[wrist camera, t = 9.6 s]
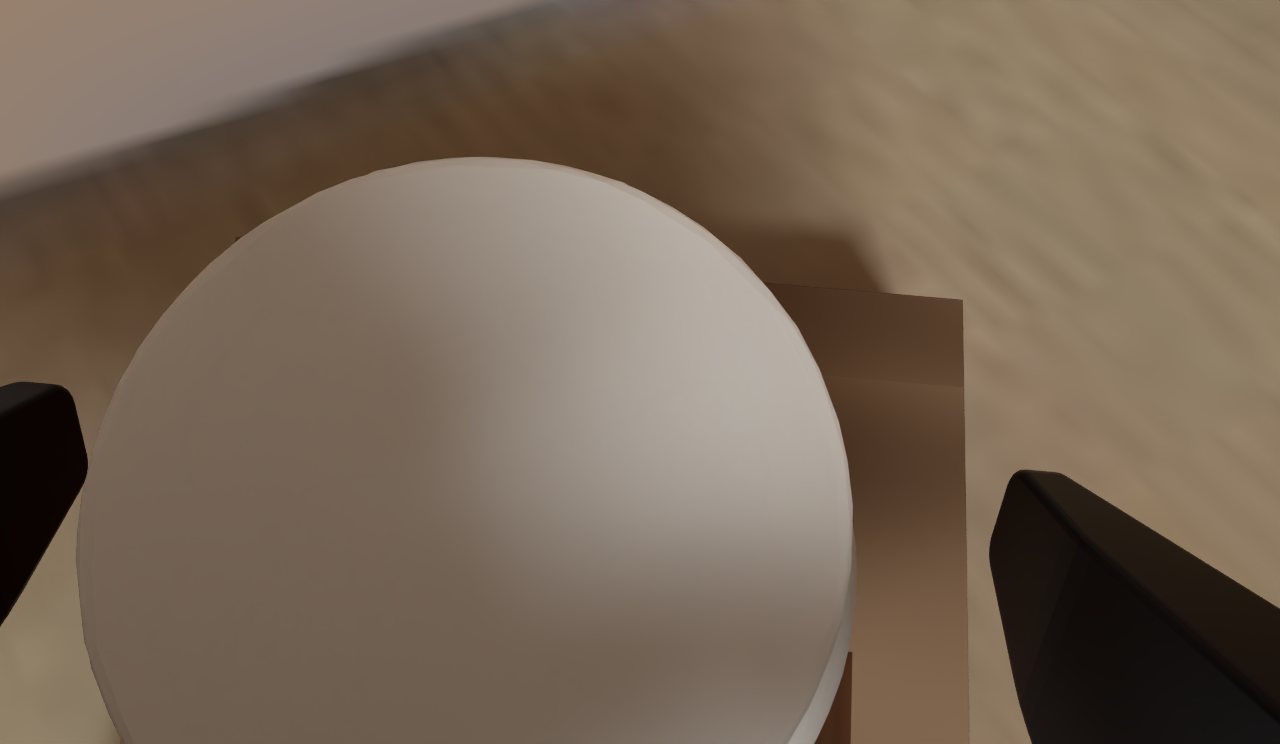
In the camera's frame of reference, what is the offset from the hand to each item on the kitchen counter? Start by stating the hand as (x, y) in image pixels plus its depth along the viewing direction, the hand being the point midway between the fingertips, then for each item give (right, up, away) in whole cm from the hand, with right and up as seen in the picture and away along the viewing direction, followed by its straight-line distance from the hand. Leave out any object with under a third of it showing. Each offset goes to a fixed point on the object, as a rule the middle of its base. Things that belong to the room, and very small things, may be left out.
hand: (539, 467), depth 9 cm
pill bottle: (0, -3, +7) cm, 8 cm away
